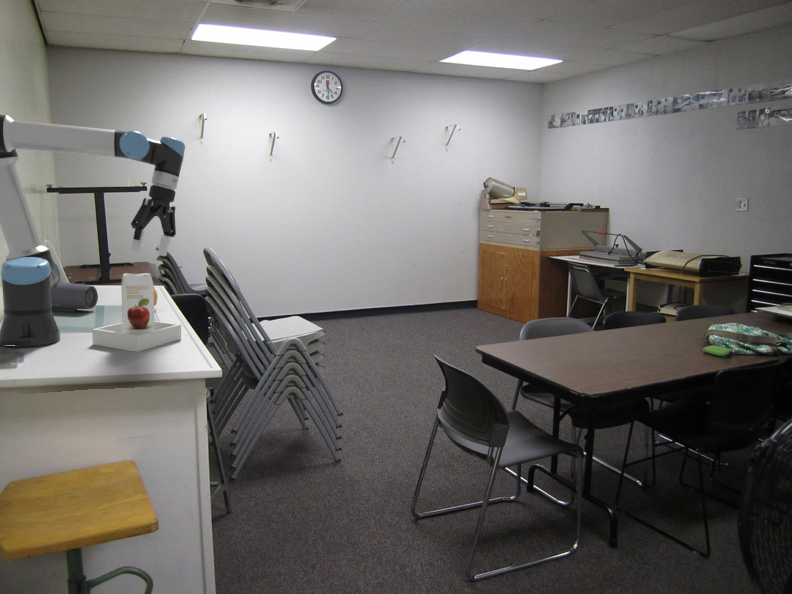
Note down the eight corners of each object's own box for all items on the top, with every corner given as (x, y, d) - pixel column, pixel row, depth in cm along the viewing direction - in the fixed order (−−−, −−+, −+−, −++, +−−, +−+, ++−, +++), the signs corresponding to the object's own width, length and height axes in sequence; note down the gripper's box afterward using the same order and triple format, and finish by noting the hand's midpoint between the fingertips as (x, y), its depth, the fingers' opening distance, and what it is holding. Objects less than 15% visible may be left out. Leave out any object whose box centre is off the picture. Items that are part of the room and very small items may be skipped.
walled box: (137, 352, 166) (136, 336, 166) (92, 344, 172) (92, 329, 171) (181, 338, 183) (181, 324, 182) (139, 332, 188) (139, 318, 188)
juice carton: (122, 335, 179) (120, 272, 176) (153, 334, 182) (152, 272, 179) (122, 341, 172) (121, 276, 169) (155, 340, 176) (154, 275, 173)
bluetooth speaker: (99, 309, 219) (98, 282, 218) (84, 314, 210) (83, 286, 209) (41, 305, 222) (39, 278, 220) (23, 310, 212) (21, 282, 211)
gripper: (150, 180, 176) (134, 251, 177) (195, 197, 201) (181, 259, 201) (128, 176, 178) (112, 246, 178) (175, 193, 202) (161, 254, 203)
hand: (149, 253), depth 190 cm, fingers open, 13 cm apart
